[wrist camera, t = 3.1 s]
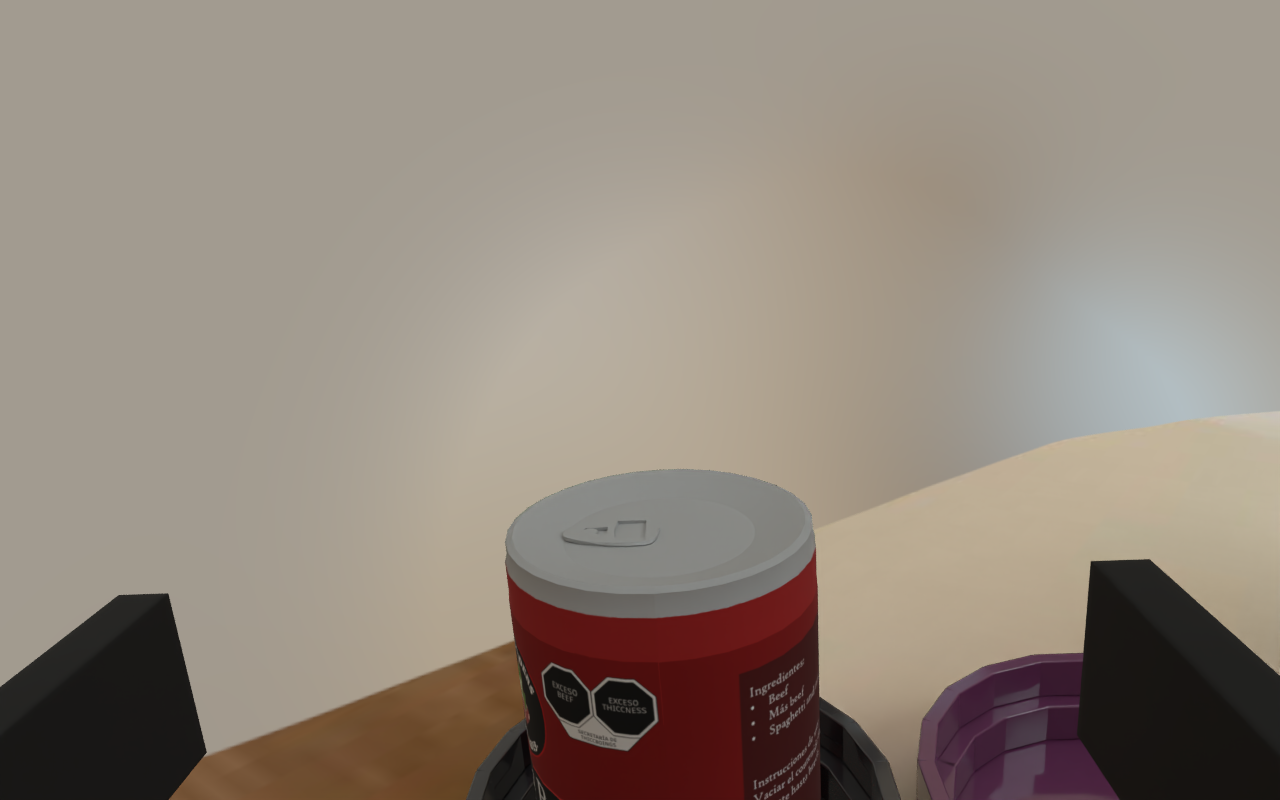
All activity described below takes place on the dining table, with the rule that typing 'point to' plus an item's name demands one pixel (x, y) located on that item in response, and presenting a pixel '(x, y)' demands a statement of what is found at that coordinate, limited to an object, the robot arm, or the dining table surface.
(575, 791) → the canned food
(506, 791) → the dark bowl
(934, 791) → the plum bowl
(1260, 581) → the dining table surface
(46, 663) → the robot arm
